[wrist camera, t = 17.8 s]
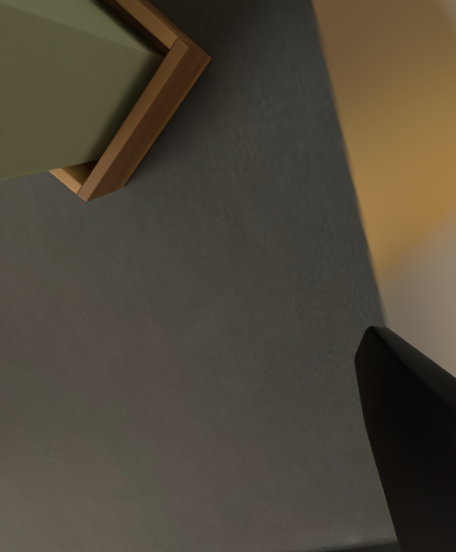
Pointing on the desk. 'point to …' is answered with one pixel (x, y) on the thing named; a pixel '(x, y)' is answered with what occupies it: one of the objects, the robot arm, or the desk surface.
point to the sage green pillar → (66, 81)
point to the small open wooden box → (141, 103)
